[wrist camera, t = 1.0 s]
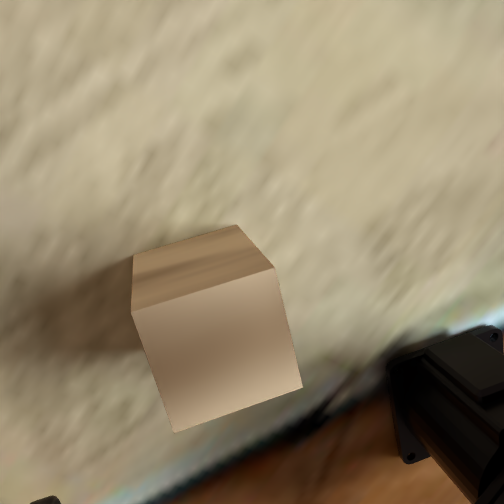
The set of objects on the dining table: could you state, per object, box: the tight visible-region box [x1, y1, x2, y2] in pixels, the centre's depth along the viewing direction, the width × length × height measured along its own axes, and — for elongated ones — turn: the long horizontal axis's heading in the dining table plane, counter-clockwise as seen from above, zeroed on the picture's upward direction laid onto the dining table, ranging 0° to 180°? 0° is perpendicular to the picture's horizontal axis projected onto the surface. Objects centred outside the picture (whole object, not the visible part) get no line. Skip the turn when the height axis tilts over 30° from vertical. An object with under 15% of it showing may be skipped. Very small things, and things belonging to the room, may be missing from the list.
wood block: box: [131, 225, 303, 433], centre depth 17 cm, size 4×4×6 cm
